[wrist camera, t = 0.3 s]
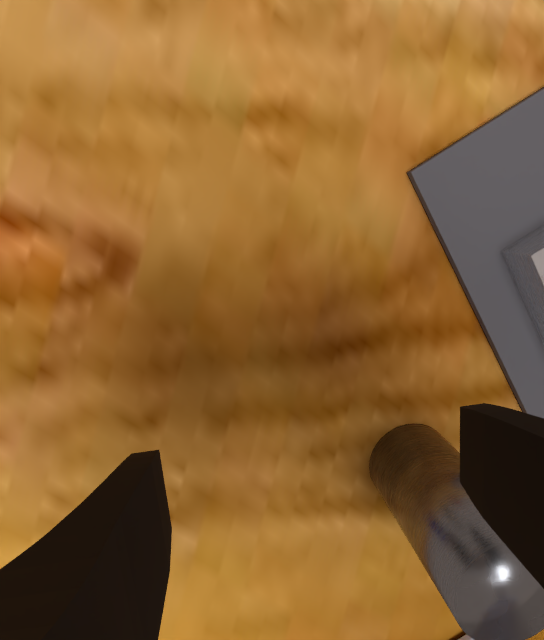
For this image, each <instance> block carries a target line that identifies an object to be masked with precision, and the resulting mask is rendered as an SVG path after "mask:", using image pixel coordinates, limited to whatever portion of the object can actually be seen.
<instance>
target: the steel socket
mask: <svg viewBox="0 0 544 640" xmlns="http://www.w3.org/2000/svg"><path fill="white" fill-rule="evenodd" d="M500 252H501V254H502V256H503V259H504V261H505V263H506V265H507V267H508V270H509V272H510V274H511V276H512V279H513V281H514V283H515V285H516V288H517V290H518V292H519V294H520V296H521V299H522V301H523V303H524V305H525V308H526V310H527V312H528V314H529V317H530V319H531V321H532V323H533V326H534V328H535V330H536V332H537V334H538V337H539V339H540V341H541V343H542V346H543V348H544V224H543V225H542V226H540V227H538V228H537V229H535V230H534V231H532V232H530V233H529V234H527V235H526V236H524V237H522V238H521V239H519V240H518V241H516V242H514V243H513V244H511V245H510V246H508V247H506V248H505V249H503V250H502V251H500Z"/></svg>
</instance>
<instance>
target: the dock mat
mask: <svg viewBox="0 0 544 640" xmlns="http://www.w3.org/2000/svg"><path fill="white" fill-rule="evenodd" d="M407 174H408V176H409V178H410V180H411V182H412V184H413V186H414V189H415V191H416V193H417V195H418V197H419V199H420V201H421V203H422V205H423V207H424V209H425V211H426V213H427V215H428V217H429V219H430V222H431V224H432V226H433V228H434V230H435V232H436V234H437V236H438V238H439V240H440V242H441V244H442V246H443V248H444V250H445V253H446V255H447V257H448V259H449V261H450V263H451V265H452V267H453V269H454V271H455V273H456V275H457V277H458V279H459V281H460V283H461V286H462V288H463V290H464V292H465V294H466V296H467V298H468V300H469V302H470V304H471V306H472V308H473V310H474V312H475V314H476V316H477V319H478V321H479V323H480V325H481V327H482V329H483V331H484V333H485V335H486V337H487V339H488V341H489V343H490V345H491V347H492V349H493V352H494V354H495V356H496V358H497V360H498V362H499V364H500V366H501V368H502V370H503V372H504V374H505V376H506V378H507V380H508V382H509V385H510V387H511V389H512V391H513V393H514V395H515V397H516V399H517V401H518V403H519V405H520V407H521V409H522V411H523V412H524V413H527V414H530V415H534V416H537V417H541V418H544V348H543V346H542V343H541V341H540V339H539V337H538V334H537V332H536V330H535V328H534V326H533V323H532V321H531V319H530V317H529V314H528V312H527V310H526V308H525V305H524V303H523V301H522V299H521V296H520V294H519V292H518V290H517V288H516V285H515V283H514V281H513V279H512V276H511V274H510V272H509V270H508V267H507V265H506V263H505V261H504V259H503V256H502V254H501V252H500V251H502V250H503V249H505V248H506V247H508V246H510V245H511V244H513V243H514V242H516V241H518V240H519V239H521V238H522V237H524V236H526V235H527V234H529V233H530V232H532V231H534V230H535V229H537V228H538V227H540V226H542V225H543V224H544V87H543V88H541V89H540V90H538V91H537V92H535V93H533V94H532V95H530V96H529V97H527V98H525V99H524V100H522V101H521V102H519V103H517V104H516V105H514V106H513V107H511V108H509V109H508V110H506V111H505V112H503V113H501V114H500V115H498V116H497V117H495V118H493V119H492V120H490V121H489V122H487V123H485V124H484V125H482V126H481V127H479V128H477V129H476V130H474V131H473V132H471V133H470V134H468V135H466V136H465V137H463V138H462V139H460V140H458V141H457V142H455V143H454V144H452V145H450V146H449V147H447V148H446V149H444V150H442V151H441V152H439V153H438V154H436V155H434V156H433V157H431V158H430V159H428V160H426V161H425V162H423V163H422V164H420V165H418V166H417V167H415V168H414V169H412V170H410V171H409V172H407Z"/></svg>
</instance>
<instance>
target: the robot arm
mask: <svg viewBox="0 0 544 640" xmlns="http://www.w3.org/2000/svg"><path fill="white" fill-rule="evenodd" d="M460 483H461V485H462V487H463V488H464V490H465V491H466V493H467V495H468V496H469V498H470V499H471V501H472V503H473V504H474V506H475V507H476V509H477V510H478V512H479V513H480V515H481V516H482V517H483V519H484V520H485V521H486V522H487V524H488V525H489V526H490V527H491V528H492V530H493V531H494V532H495V533H496V534H497V535H498V537H499V538H500V539H501V540H502V541H503V543H504V544H505V545H506V546H507V547H508V548H509V550H510V551H511V552H512V553H513V554H514V555H515V556H516V558H517V559H518V560H519V561H520V562H521V563H522V565H523V566H524V567H525V568H526V569H527V570H528V571H529V573H530V574H531V575H532V576H533V577H534V578H535V580H536V581H537V582H538V583H539V584H540V585H541V586H542V588H543V589H544V418H541V417H537V416H534V415H530V414H527V413H524V412H520V411H516V410H513V409H509V408H505V407H501V406H496V405H491V404H485V403H483V404H476V405H469V406H462V407H460ZM171 534H172V527H171V521H170V514H169V508H168V502H167V496H166V490H165V484H164V477H163V471H162V465H161V459H160V453H159V450H154V451H147V452H140V453H133V454H131V455H130V456H129V457H127V458H126V459H125V460H124V461H123V462H122V463H121V464H120V465H119V466H118V467H117V468H116V469H115V470H114V471H113V472H112V473H111V474H110V475H109V476H108V477H107V478H106V479H105V480H104V481H103V482H102V483H101V484H100V485H99V486H98V487H97V488H96V489H95V490H94V491H93V492H92V493H91V494H90V495H89V496H88V497H87V498H86V499H85V500H84V501H83V502H82V503H81V504H80V505H79V506H78V507H76V508H75V509H74V510H73V511H72V512H71V513H70V514H69V515H67V516H66V517H65V518H64V519H63V520H62V521H61V522H60V523H58V524H57V525H56V526H55V527H54V528H53V529H52V530H51V531H50V532H48V533H47V534H46V535H45V536H43V537H42V538H41V539H40V540H39V541H37V542H36V543H35V544H33V545H32V546H31V547H30V548H28V549H27V550H26V551H24V552H23V553H22V554H20V555H19V556H18V557H16V558H15V559H14V560H12V561H11V562H10V563H8V564H7V565H6V566H4V567H3V568H1V569H0V640H158V636H159V630H160V625H161V619H162V613H163V607H164V602H165V596H166V590H167V584H168V578H169V572H170V556H171ZM458 640H474V639H472V638H471V637H469V636H468V635H467V634H466V635H464V636H463V637H461V638H459V639H458Z"/></svg>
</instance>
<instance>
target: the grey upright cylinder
mask: <svg viewBox="0 0 544 640" xmlns="http://www.w3.org/2000/svg"><path fill="white" fill-rule="evenodd" d="M369 469H370V475H371V478H372V481H373V483H374V484H375V486H376V488H377V489H378V491H379V493H380V494H381V496H382V498H383V499H384V501H385V503H386V504H387V506H388V508H389V509H390V511H391V513H392V514H393V516H394V518H395V519H396V521H397V523H398V524H399V526H400V528H401V529H402V531H403V533H404V534H405V536H406V537H407V539H408V541H409V542H410V544H411V546H412V547H413V549H414V551H415V552H416V554H417V556H418V557H419V559H420V561H421V562H422V564H423V566H424V567H425V569H426V571H427V572H428V574H429V576H430V577H431V579H432V581H433V582H434V584H435V586H436V587H437V589H438V591H439V592H440V594H441V596H442V597H443V599H444V601H445V602H446V604H447V606H448V607H449V609H450V611H451V612H452V614H453V616H454V617H455V619H456V621H457V622H458V624H459V626H460V627H461V628H462V630H463V631H464V632H465V633H466V634H467V635H468V636H469V637H471V638H472V639H474V640H525V639H528V638H530V637H532V636H534V635H535V634H537V633H539V632H540V631H542V630H543V629H544V589H543V588H542V586H541V585H540V584H539V583H538V582H537V581H536V580H535V578H534V577H533V576H532V575H531V574H530V573H529V571H528V570H527V569H526V568H525V567H524V566H523V565H522V563H521V562H520V561H519V560H518V559H517V558H516V556H515V555H514V554H513V553H512V552H511V551H510V550H509V548H508V547H507V546H506V545H505V544H504V543H503V541H502V540H501V539H500V538H499V537H498V535H497V534H496V533H495V532H494V531H493V530H492V528H491V527H490V526H489V525H488V524H487V522H486V521H485V520H484V519H483V517H482V516H481V515H480V513H479V512H478V510H477V509H476V507H475V506H474V504H473V503H472V501H471V499H470V498H469V496H468V495H467V493H466V491H465V490H464V488H463V487H462V485H461V483H460V453H459V452H458V451H457V450H456V449H455V448H454V447H453V446H452V445H451V444H450V443H449V442H448V441H447V440H446V439H445V438H444V437H442V436H441V435H440V434H439V433H438V432H437V431H436V430H434V429H433V428H431V427H429V426H426V425H422V424H408V425H403V426H400V427H397V428H395V429H393V430H391V431H390V432H388V433H387V434H386V435H385V436H383V437H382V438H381V440H380V441H379V442H378V443H377V445H376V446H375V448H374V450H373V452H372V455H371V458H370V464H369Z"/></svg>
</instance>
